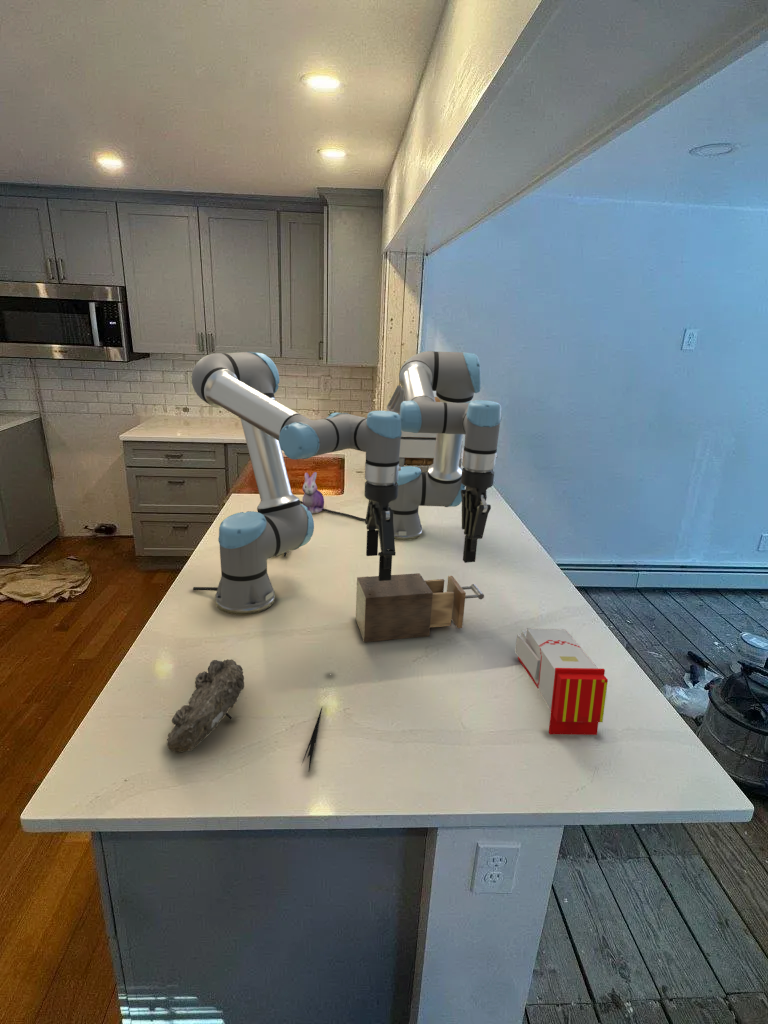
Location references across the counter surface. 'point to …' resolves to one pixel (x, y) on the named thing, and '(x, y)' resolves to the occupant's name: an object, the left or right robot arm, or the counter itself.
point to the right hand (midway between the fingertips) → (468, 560)
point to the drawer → (449, 601)
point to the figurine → (312, 494)
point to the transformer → (414, 438)
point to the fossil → (206, 705)
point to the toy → (564, 680)
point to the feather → (313, 740)
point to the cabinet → (393, 607)
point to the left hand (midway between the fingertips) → (377, 567)
